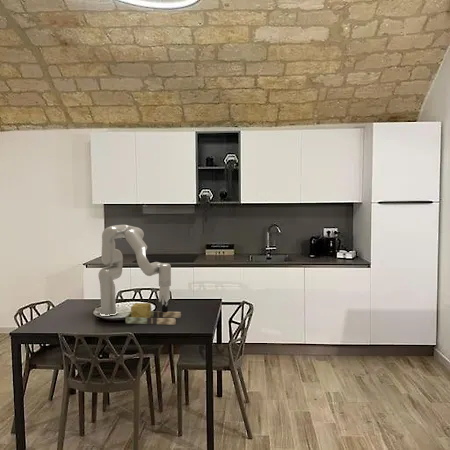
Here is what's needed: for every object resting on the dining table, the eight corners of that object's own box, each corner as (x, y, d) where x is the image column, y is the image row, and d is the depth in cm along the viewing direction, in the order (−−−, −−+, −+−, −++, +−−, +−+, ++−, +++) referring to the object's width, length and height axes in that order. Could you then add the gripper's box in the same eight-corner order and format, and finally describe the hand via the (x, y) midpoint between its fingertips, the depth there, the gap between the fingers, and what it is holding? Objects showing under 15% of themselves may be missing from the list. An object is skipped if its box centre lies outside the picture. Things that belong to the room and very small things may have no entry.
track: (125, 323, 296) (125, 316, 295) (133, 316, 312) (133, 309, 311) (175, 324, 292) (175, 317, 292) (180, 317, 308) (180, 310, 308)
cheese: (147, 322, 297) (147, 306, 296) (130, 322, 298) (130, 306, 297) (151, 318, 307) (151, 302, 306) (135, 317, 308) (134, 302, 307)
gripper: (161, 280, 307) (162, 308, 308) (155, 285, 292) (156, 315, 294) (173, 281, 306) (173, 309, 308) (167, 286, 291) (168, 315, 293)
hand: (164, 312), depth 301 cm, fingers closed
